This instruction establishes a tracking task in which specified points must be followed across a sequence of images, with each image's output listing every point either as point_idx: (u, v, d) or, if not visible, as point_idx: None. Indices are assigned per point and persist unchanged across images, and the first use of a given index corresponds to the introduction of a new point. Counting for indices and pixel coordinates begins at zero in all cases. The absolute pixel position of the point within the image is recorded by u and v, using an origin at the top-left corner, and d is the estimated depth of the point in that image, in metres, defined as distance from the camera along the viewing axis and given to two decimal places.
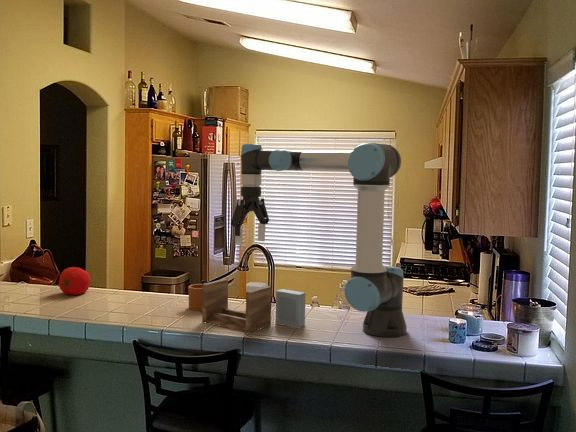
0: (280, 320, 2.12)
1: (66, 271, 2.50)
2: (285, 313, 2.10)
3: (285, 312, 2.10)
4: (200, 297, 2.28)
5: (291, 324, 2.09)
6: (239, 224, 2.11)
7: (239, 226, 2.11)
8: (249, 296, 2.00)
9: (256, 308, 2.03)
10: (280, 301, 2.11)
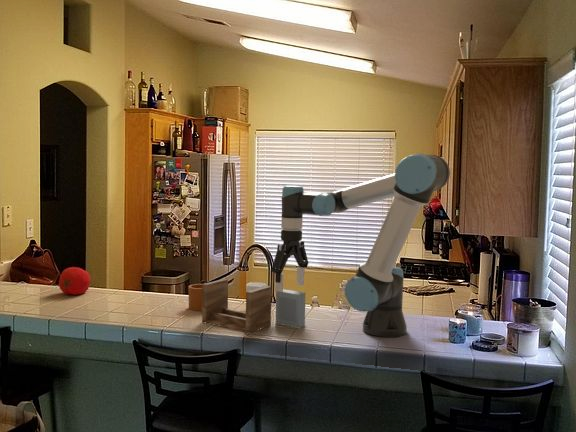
0: (280, 320, 2.12)
1: (66, 271, 2.50)
2: (285, 313, 2.10)
3: (285, 312, 2.10)
4: (200, 297, 2.28)
5: (291, 324, 2.09)
6: (280, 270, 2.03)
7: (280, 272, 2.03)
8: (249, 296, 2.00)
9: (256, 308, 2.03)
10: (280, 301, 2.11)
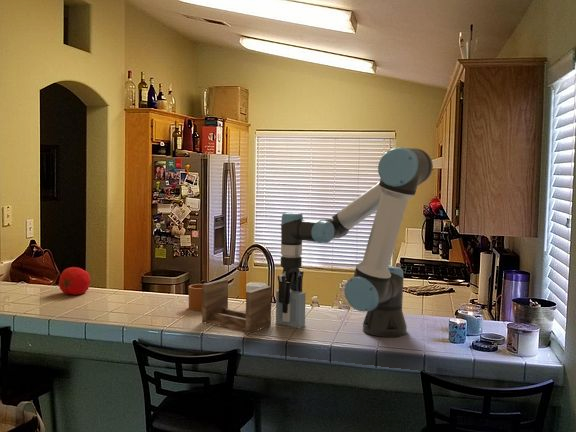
0: (280, 320, 2.12)
1: (66, 271, 2.50)
2: None
3: None
4: (200, 297, 2.28)
5: (291, 324, 2.09)
6: (287, 302, 2.07)
7: (287, 303, 2.07)
8: (249, 296, 2.00)
9: (256, 308, 2.03)
10: None
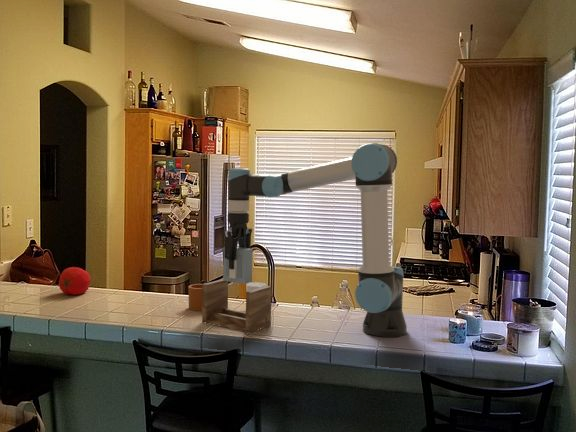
0: (227, 277, 2.10)
1: (66, 271, 2.50)
2: None
3: None
4: (200, 297, 2.28)
5: (238, 280, 2.08)
6: (233, 258, 2.06)
7: (233, 260, 2.06)
8: (249, 296, 2.00)
9: (256, 308, 2.03)
10: None
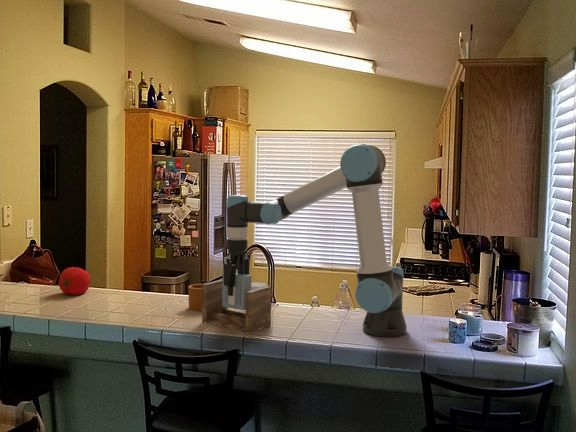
0: (226, 303, 2.11)
1: (66, 271, 2.50)
2: None
3: None
4: (200, 297, 2.28)
5: (237, 306, 2.08)
6: (232, 284, 2.06)
7: (232, 286, 2.07)
8: (249, 296, 2.00)
9: (256, 308, 2.03)
10: None
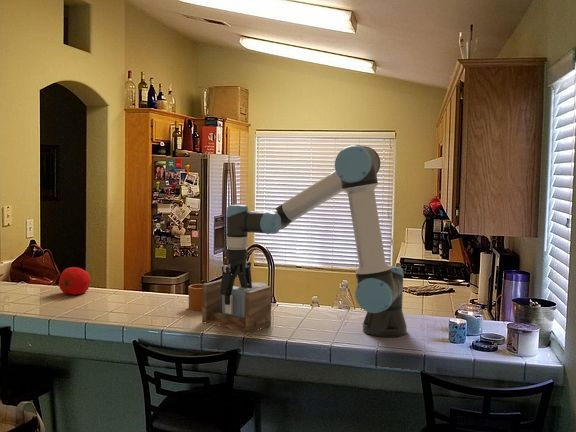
0: None
1: (66, 271, 2.50)
2: None
3: None
4: (200, 297, 2.28)
5: None
6: (229, 293, 2.05)
7: (229, 295, 2.05)
8: (249, 296, 2.00)
9: (256, 308, 2.03)
10: None
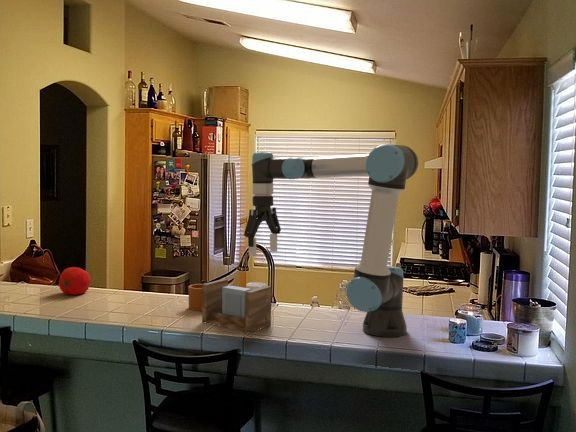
0: None
1: (66, 271, 2.50)
2: (231, 309, 2.10)
3: (231, 308, 2.10)
4: (200, 297, 2.28)
5: None
6: (252, 234, 2.06)
7: (253, 236, 2.06)
8: (249, 296, 2.00)
9: (256, 308, 2.03)
10: (226, 298, 2.11)
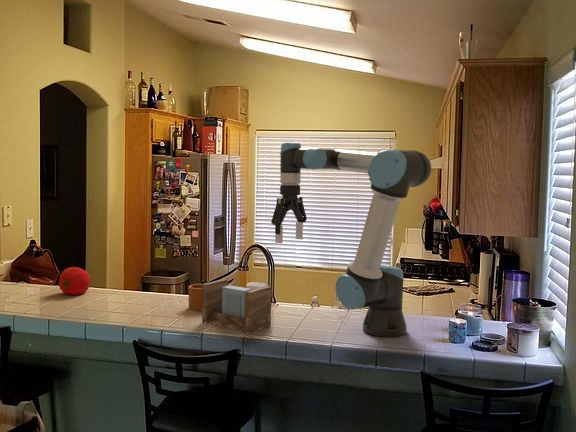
0: None
1: (66, 271, 2.50)
2: (231, 309, 2.10)
3: (231, 308, 2.10)
4: (200, 297, 2.28)
5: None
6: (279, 222, 2.12)
7: (279, 224, 2.12)
8: (249, 296, 2.00)
9: (256, 308, 2.03)
10: (226, 298, 2.11)
